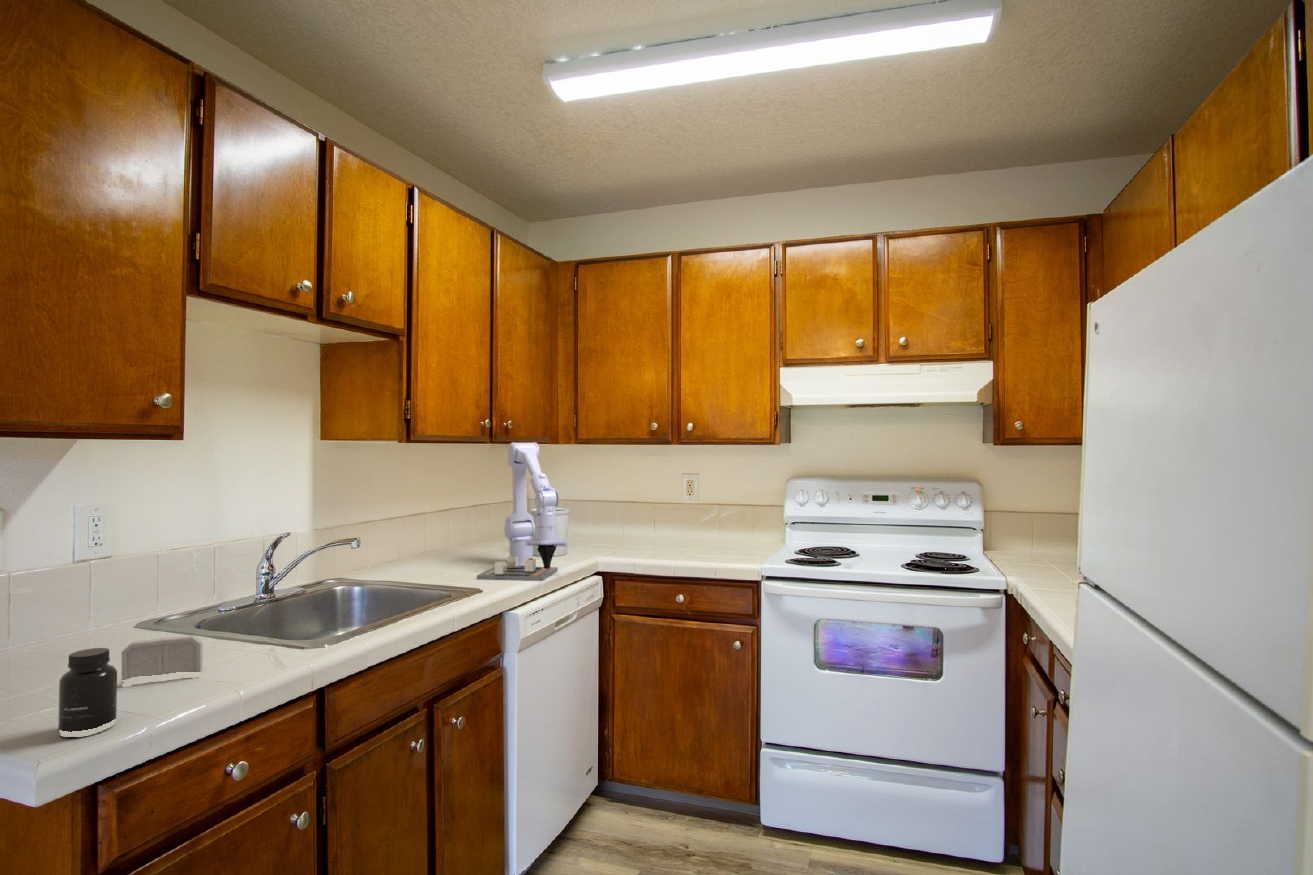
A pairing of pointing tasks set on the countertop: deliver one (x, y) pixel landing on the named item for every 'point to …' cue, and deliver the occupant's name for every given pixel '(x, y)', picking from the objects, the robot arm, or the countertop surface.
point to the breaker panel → (515, 571)
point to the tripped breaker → (530, 564)
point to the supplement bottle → (87, 691)
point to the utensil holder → (560, 530)
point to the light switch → (162, 656)
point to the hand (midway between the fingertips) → (547, 568)
